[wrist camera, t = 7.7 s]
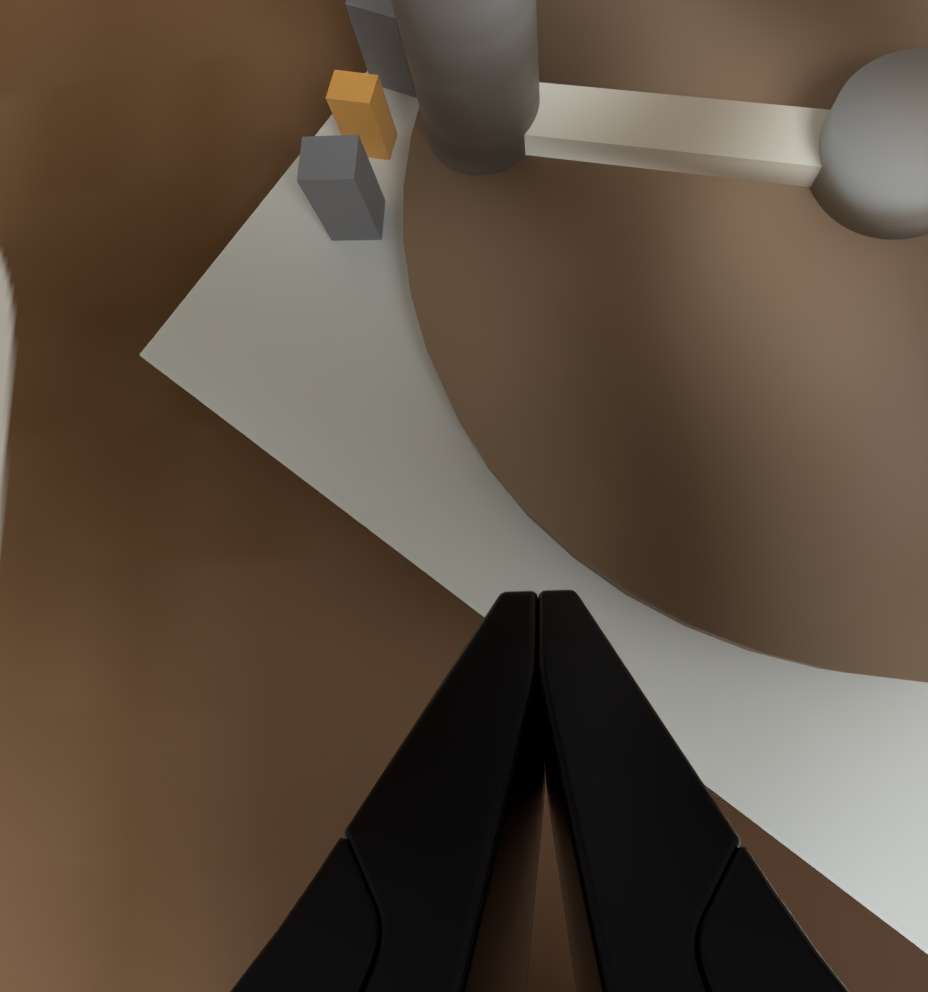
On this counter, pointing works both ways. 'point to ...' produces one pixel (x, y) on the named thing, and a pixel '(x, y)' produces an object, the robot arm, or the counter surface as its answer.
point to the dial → (691, 299)
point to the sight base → (492, 510)
